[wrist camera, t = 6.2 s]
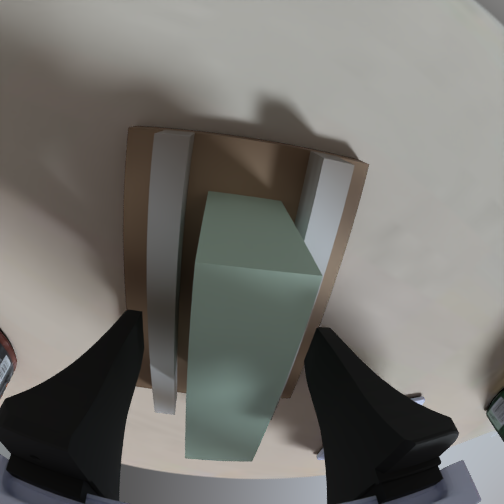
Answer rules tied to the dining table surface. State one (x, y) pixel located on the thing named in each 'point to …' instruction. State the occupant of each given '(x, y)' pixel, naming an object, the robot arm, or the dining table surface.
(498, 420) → the coffee jar
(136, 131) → the brown shallow piece
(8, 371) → the supplement bottle
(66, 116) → the dining table surface
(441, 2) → the dining table surface
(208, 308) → the pale green block
